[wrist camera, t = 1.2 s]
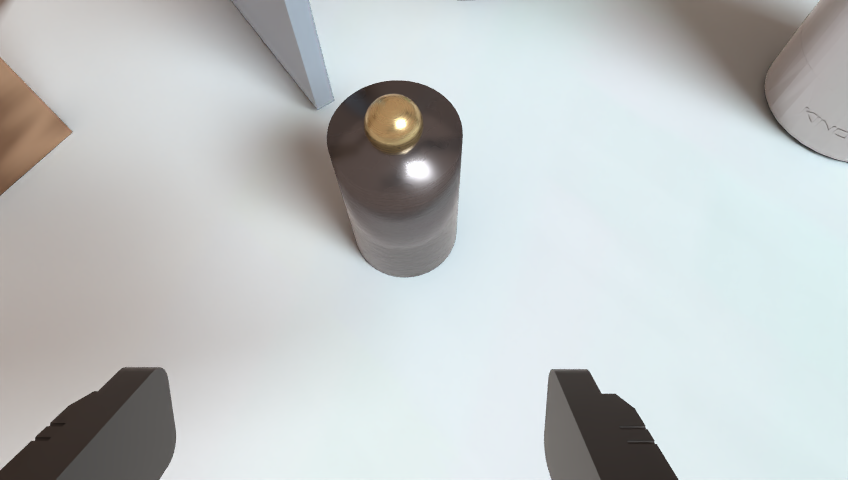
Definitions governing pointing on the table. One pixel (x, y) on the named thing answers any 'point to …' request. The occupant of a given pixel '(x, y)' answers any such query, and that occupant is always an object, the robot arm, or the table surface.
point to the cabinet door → (292, 42)
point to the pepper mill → (399, 174)
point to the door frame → (24, 128)
